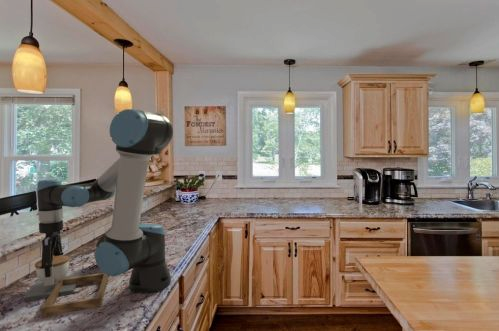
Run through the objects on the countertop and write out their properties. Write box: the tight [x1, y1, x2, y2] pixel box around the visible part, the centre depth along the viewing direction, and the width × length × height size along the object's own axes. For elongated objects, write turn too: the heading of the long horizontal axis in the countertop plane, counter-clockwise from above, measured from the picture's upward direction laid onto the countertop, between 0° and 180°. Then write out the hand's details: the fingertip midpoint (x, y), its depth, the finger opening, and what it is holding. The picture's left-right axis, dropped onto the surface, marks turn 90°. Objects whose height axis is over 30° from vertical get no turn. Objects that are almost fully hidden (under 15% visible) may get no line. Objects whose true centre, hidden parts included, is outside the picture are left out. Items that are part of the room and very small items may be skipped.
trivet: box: [22, 273, 82, 302], centre depth 110 cm, size 15×15×1 cm
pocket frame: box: [40, 272, 109, 318], centre depth 103 cm, size 16×22×3 cm
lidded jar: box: [34, 254, 70, 283], centre depth 110 cm, size 11×11×9 cm
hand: (53, 278), depth 110 cm, fingers closed on lidded jar, 11 cm apart
